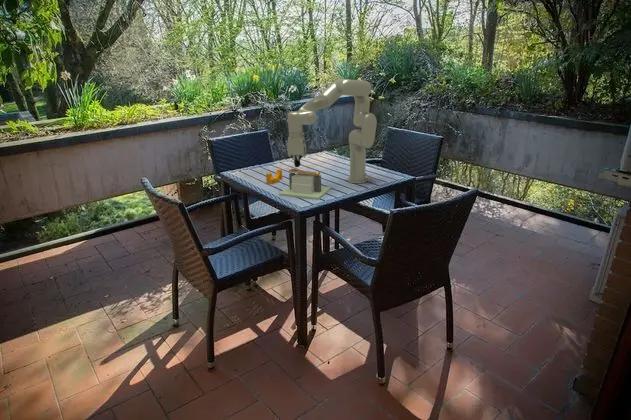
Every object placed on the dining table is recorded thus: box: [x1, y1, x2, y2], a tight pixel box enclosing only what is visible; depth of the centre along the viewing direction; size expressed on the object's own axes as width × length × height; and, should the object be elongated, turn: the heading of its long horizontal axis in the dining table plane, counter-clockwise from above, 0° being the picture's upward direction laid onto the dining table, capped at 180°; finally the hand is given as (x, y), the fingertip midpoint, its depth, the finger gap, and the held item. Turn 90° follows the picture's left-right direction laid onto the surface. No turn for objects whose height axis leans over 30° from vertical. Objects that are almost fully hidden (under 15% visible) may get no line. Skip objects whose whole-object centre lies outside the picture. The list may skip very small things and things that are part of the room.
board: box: [278, 172, 332, 200], centre depth 241 cm, size 24×20×10 cm
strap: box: [288, 168, 321, 176], centre depth 238 cm, size 18×5×1 cm, turn 68°
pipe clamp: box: [265, 168, 283, 185], centre depth 263 cm, size 12×4×6 cm, turn 144°
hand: (297, 166), depth 239 cm, fingers closed
